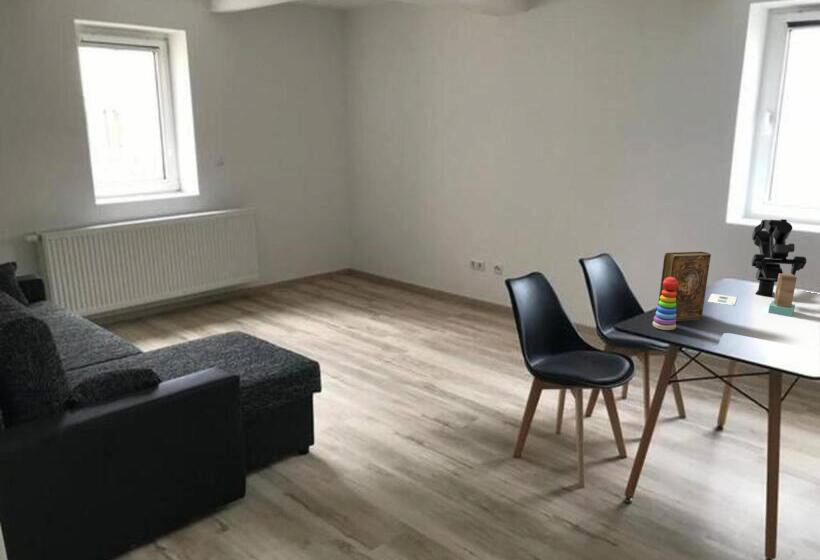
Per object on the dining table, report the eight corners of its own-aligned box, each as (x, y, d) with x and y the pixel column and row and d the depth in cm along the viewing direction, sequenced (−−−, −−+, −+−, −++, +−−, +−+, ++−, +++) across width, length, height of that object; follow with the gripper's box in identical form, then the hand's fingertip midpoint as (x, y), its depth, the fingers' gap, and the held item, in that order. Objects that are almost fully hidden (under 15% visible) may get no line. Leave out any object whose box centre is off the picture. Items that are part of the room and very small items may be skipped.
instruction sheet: (711, 293, 280) (711, 293, 280) (737, 297, 275) (737, 296, 275) (707, 301, 268) (707, 301, 268) (734, 305, 263) (734, 305, 263)
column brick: (773, 302, 258) (778, 273, 255) (787, 303, 257) (792, 274, 254) (776, 306, 254) (782, 276, 250) (791, 307, 252) (796, 277, 249)
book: (695, 314, 251) (703, 251, 244) (704, 319, 246) (713, 254, 239) (656, 316, 248) (664, 252, 241) (664, 321, 242) (673, 256, 236)
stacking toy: (673, 332, 231) (680, 281, 226) (650, 328, 235) (656, 278, 230) (677, 326, 237) (684, 276, 232) (654, 322, 241) (660, 273, 236)
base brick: (771, 307, 261) (772, 300, 261) (793, 311, 257) (795, 304, 256) (768, 312, 255) (769, 305, 254) (791, 316, 251) (792, 309, 250)
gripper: (756, 234, 264) (757, 267, 257) (809, 237, 258) (811, 271, 251) (751, 249, 273) (751, 281, 266) (801, 251, 267) (803, 285, 260)
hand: (779, 279), depth 260 cm, fingers open, 9 cm apart
